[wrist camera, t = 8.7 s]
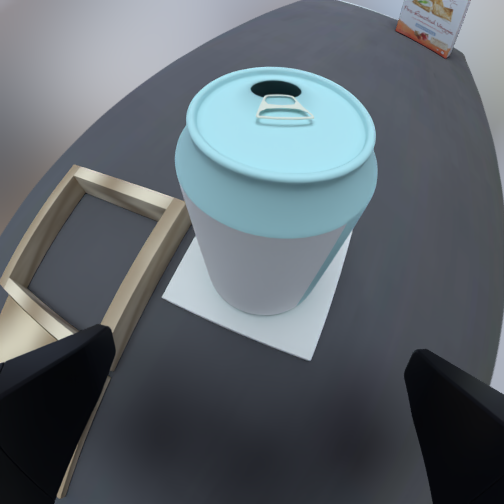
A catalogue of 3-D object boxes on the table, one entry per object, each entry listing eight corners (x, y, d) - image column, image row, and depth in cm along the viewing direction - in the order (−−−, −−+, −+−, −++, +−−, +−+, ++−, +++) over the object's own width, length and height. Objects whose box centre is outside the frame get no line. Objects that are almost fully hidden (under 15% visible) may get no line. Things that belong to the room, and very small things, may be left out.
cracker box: (394, 31, 44) (411, -37, 25) (401, 29, 46) (418, -33, 27) (446, 60, 40) (471, -8, 22) (449, 56, 42) (473, -6, 23)
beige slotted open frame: (192, 221, 21) (186, 202, 18) (65, 496, 11) (47, 504, 9) (85, 181, 22) (74, 164, 20) (-22, 404, 13) (-40, 402, 10)
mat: (351, 230, 20) (353, 226, 20) (308, 361, 16) (310, 360, 16) (228, 185, 22) (228, 180, 21) (164, 299, 18) (161, 297, 17)
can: (187, 258, 19) (127, 107, 8) (267, 200, 21) (282, 45, 10) (258, 341, 16) (281, 261, 6) (338, 269, 18) (428, 134, 8)
